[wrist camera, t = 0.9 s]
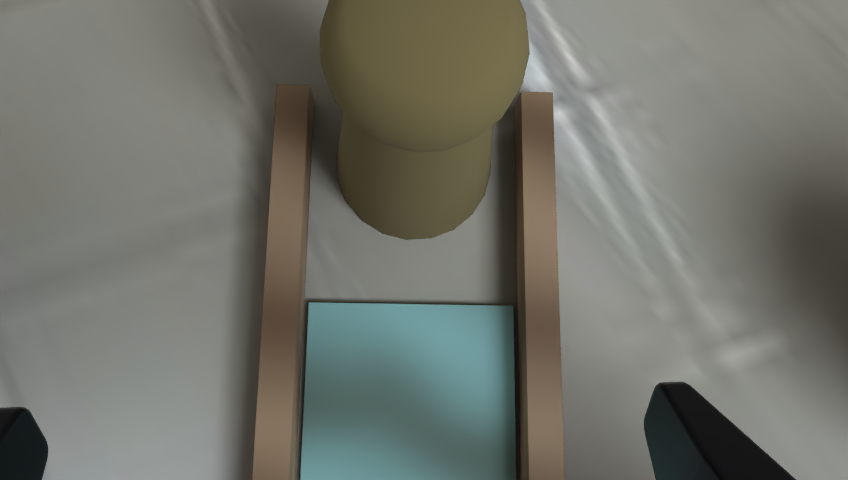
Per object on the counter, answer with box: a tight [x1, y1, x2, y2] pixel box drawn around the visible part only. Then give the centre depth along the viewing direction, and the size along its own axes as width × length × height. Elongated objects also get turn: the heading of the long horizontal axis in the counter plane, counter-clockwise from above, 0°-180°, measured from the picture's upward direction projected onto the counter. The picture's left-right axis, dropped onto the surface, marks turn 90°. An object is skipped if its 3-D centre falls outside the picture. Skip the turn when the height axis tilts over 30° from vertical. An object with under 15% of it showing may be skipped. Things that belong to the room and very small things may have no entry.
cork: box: [320, 0, 529, 240], centre depth 20 cm, size 6×6×11 cm
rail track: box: [252, 84, 565, 480], centre depth 23 cm, size 20×10×2 cm, turn 179°
